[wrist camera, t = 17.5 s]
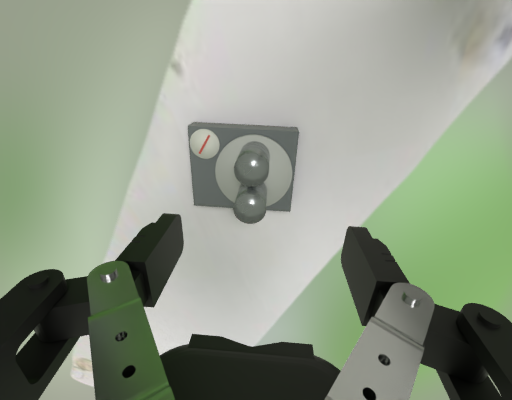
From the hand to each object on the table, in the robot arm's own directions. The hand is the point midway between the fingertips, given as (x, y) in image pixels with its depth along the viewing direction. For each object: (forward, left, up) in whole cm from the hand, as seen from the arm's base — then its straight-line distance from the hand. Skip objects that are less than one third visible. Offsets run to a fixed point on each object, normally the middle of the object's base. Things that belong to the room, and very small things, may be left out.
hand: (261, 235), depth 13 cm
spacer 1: (+2, +4, -26) cm, 27 cm away
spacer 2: (+2, +10, -26) cm, 28 cm away
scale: (+4, +7, -30) cm, 31 cm away
